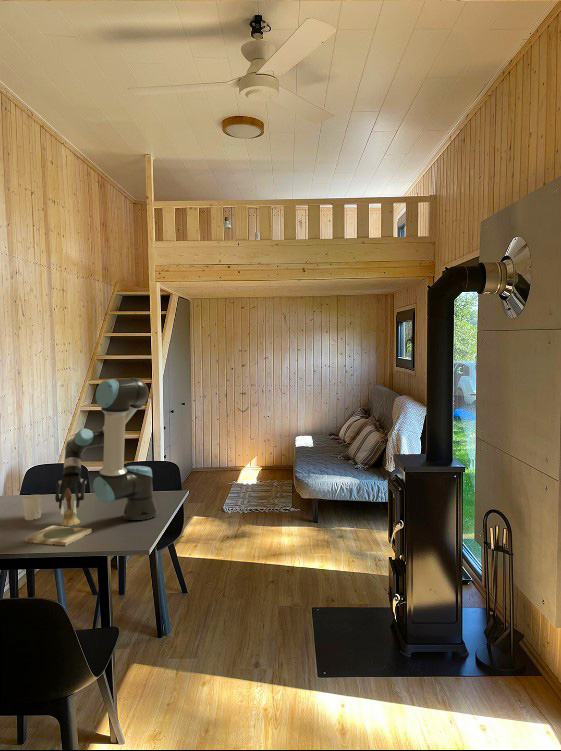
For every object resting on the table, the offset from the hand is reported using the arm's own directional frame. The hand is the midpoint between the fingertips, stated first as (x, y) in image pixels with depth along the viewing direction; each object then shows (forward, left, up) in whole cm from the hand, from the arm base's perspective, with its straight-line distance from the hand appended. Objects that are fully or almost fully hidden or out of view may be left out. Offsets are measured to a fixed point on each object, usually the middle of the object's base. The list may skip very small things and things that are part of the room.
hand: (68, 514), depth 238 cm
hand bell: (+2, -3, -6) cm, 7 cm away
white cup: (+25, -6, -5) cm, 26 cm away
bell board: (-5, +13, -5) cm, 15 cm away
